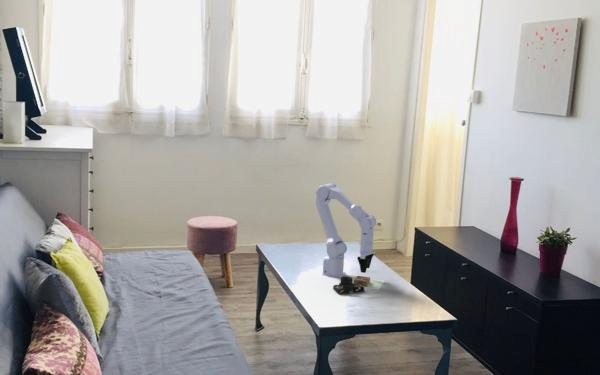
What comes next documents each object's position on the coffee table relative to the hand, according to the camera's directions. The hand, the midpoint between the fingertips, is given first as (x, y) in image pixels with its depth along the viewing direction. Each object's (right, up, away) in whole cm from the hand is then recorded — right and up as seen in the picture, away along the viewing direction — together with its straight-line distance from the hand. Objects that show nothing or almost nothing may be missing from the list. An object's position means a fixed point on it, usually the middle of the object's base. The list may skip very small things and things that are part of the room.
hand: (365, 270), depth 295 cm
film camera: (-9, -8, -14) cm, 18 cm away
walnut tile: (-1, -4, -1) cm, 4 cm away
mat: (-1, -6, -2) cm, 6 cm away
